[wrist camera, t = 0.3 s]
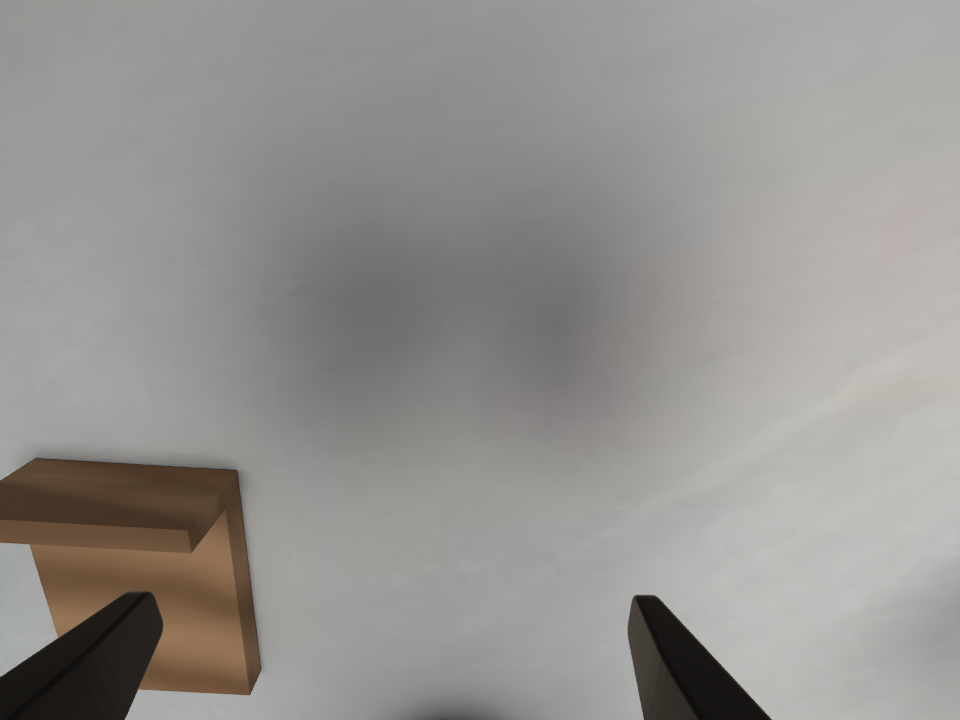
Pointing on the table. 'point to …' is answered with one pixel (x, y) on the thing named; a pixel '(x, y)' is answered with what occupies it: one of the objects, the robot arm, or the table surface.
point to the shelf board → (144, 559)
